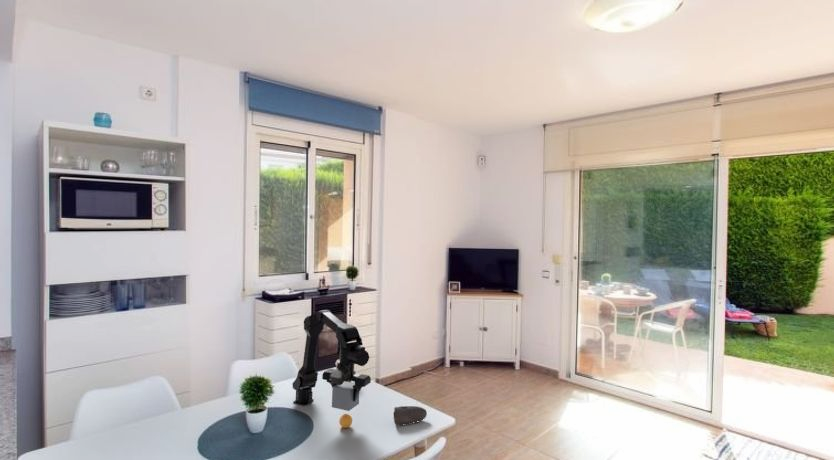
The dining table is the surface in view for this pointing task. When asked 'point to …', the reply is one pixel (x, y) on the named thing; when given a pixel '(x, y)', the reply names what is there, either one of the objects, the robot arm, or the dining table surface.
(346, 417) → the ball
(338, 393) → the grey cube
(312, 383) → the robot arm
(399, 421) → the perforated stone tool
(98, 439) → the dining table surface
